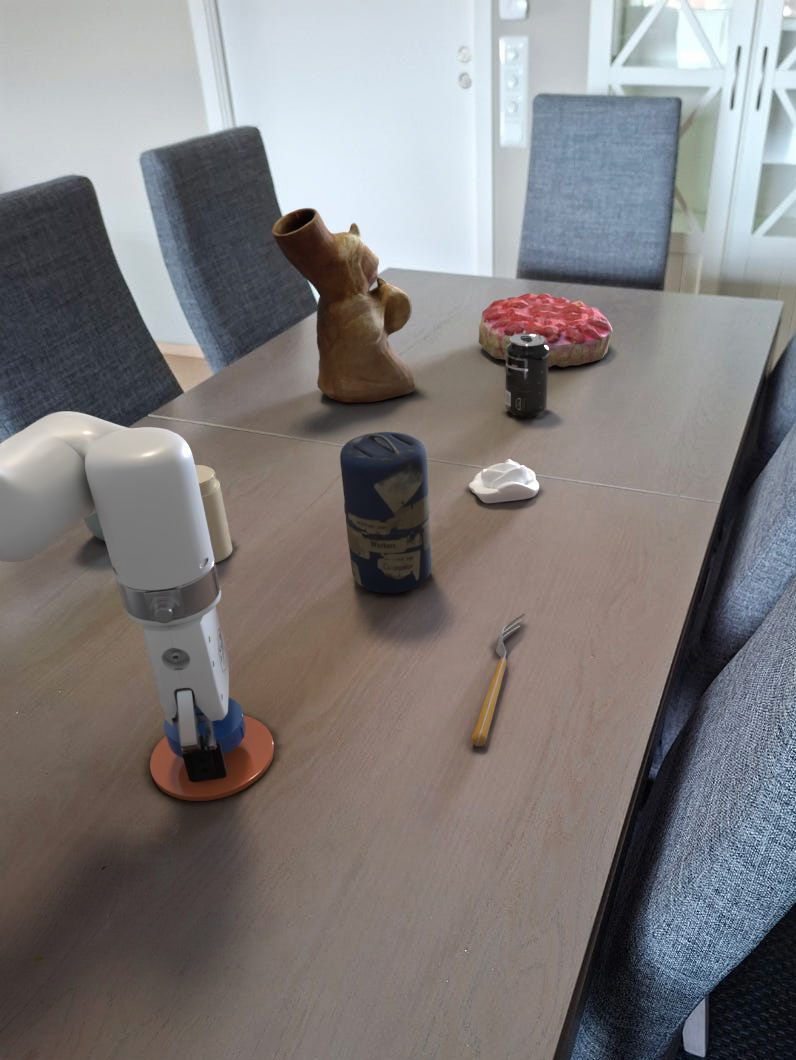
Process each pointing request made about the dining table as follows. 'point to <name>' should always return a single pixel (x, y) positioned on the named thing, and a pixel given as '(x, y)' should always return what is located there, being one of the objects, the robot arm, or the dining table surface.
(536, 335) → the beverage can
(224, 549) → the jam jar
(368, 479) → the canister
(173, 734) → the jam lid
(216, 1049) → the dining table surface
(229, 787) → the coaster
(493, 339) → the cake
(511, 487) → the rose
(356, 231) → the ceramic vessel
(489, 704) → the fork
